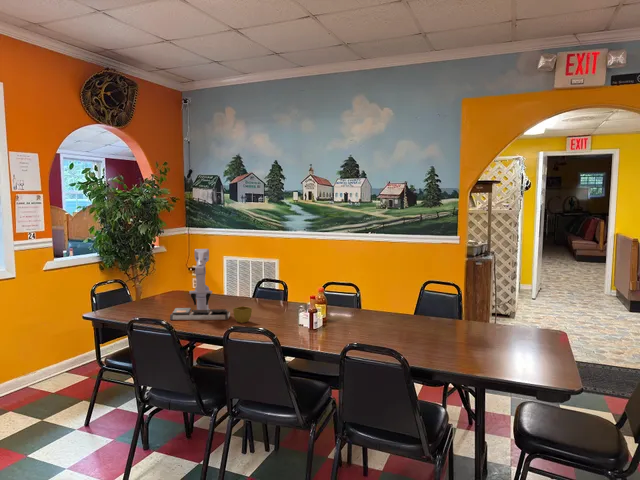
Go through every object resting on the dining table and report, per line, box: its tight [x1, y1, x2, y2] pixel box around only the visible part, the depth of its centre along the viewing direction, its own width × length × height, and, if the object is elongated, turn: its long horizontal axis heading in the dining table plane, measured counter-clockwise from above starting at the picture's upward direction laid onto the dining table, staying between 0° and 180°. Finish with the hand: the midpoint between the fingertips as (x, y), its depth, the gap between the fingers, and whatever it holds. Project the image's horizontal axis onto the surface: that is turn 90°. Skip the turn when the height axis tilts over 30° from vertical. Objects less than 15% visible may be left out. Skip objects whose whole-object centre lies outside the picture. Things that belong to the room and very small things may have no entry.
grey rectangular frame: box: [172, 307, 192, 314], centre depth 295 cm, size 7×10×2 cm
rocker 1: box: [191, 309, 210, 313], centre depth 295 cm, size 7×10×2 cm
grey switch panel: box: [169, 310, 231, 321], centre depth 295 cm, size 9×37×3 cm, turn 92°
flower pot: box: [232, 305, 253, 324], centre depth 285 cm, size 9×9×9 cm
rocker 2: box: [209, 308, 228, 312], centre depth 296 cm, size 7×10×2 cm
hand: (201, 304), depth 297 cm, fingers open, 7 cm apart
